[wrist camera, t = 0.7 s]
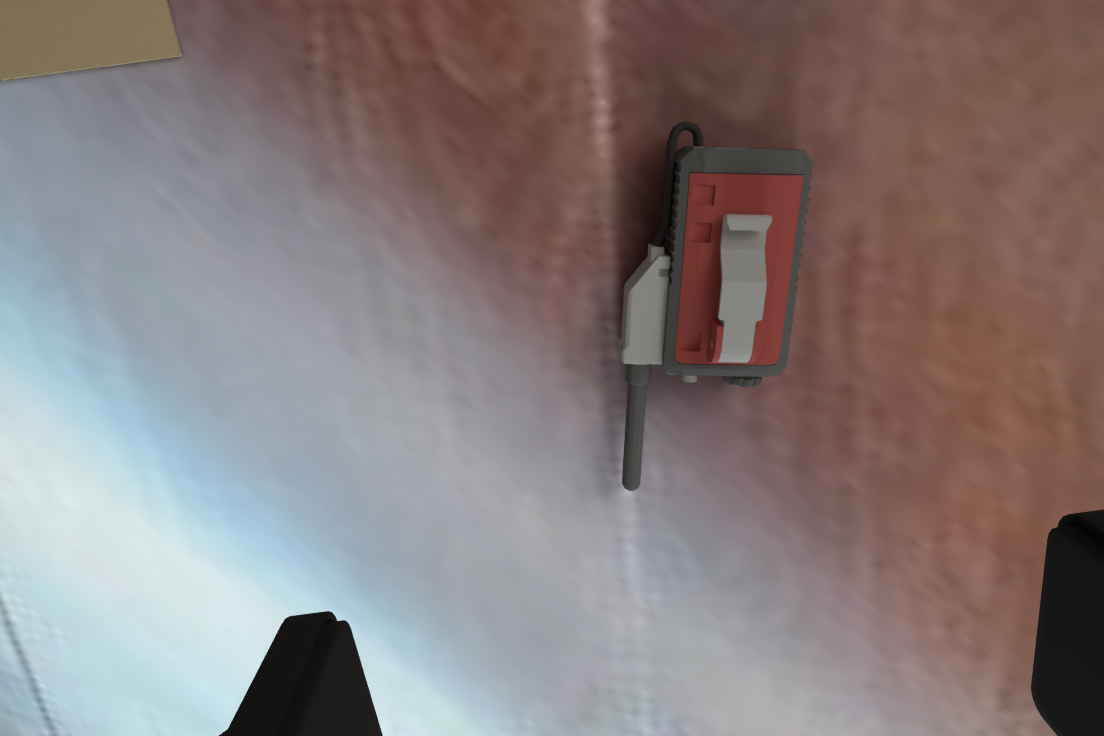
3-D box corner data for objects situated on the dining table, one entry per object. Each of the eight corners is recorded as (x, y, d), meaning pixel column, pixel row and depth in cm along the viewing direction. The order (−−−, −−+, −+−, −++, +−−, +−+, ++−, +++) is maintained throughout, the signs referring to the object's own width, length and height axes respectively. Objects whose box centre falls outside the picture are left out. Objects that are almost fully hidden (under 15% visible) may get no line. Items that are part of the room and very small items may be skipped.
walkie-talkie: (628, 120, 35) (609, 478, 41) (640, 119, 31) (617, 517, 37) (803, 124, 35) (756, 479, 42) (839, 124, 31) (780, 519, 37)
